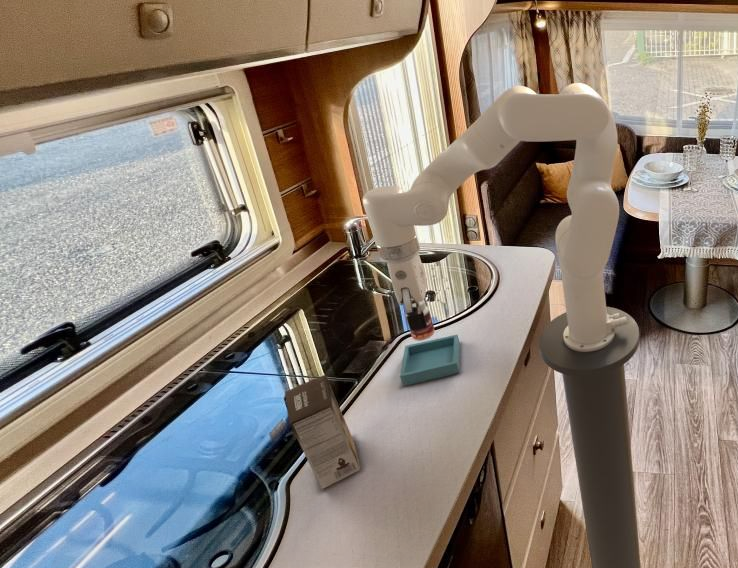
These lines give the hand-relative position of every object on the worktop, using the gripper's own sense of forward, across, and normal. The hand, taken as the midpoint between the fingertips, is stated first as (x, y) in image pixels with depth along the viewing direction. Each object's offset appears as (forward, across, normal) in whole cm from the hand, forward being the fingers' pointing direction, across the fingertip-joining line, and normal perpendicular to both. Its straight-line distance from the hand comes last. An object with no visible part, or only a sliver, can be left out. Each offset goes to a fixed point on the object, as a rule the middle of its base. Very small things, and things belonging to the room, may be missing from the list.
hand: (420, 320), depth 108 cm
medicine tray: (+12, 0, 0) cm, 12 cm away
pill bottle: (+4, 0, 0) cm, 4 cm away
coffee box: (+12, -22, +15) cm, 29 cm away
